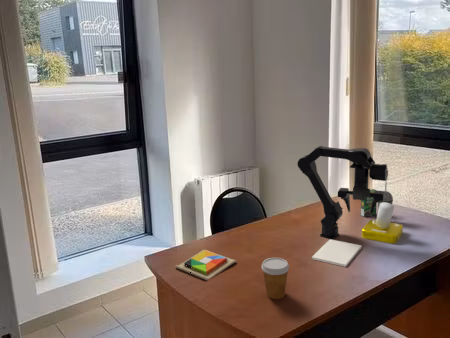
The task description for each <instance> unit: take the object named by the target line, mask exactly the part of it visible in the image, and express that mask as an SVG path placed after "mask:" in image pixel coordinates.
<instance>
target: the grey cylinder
mask: <svg viewBox="0 0 450 338" xmlns="http://www.w3.org/2000/svg"><path fill="white" fill-rule="evenodd" d="M394 210H395V206H394V205H393V203H392V204H390V203H386V202H383V203H380V206H379V210H378V209H377V213H376V215H377V216H376V219H375V220H376V226H378V227H379V228H382V229H387V228H389V226H390V223H392V217H393V214H394Z"/></svg>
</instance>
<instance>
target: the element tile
mask: <svg viewBox="0 0 450 338" xmlns="http://www.w3.org/2000/svg"><path fill="white" fill-rule="evenodd" d="M403 227H404V226H403V224H401V223H396V222H390V226H389V228H387V229H382V228H379V227H378V226H376V219H370V220H369V221H367V223H365V225H364V226H363V227H361V238H362V239H364V240H370V241H375V242H379V243H380V242H381V243H385V244H397V243H398V241H399V239H400V238H401V237H402V235H403V232H404V231H403V230H404V228H403Z"/></svg>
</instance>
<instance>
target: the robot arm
mask: <svg viewBox="0 0 450 338" xmlns="http://www.w3.org/2000/svg"><path fill="white" fill-rule="evenodd" d="M320 157H325V158H332V159H333V158H334V159H341V160H347V161H349V162H351V163H352V164H351V165H350V166H349V168H350V169H354V175H353V176H354V180H353V181H354V183H353V189H352V190H350V188H349V187H340V188H339V189H338V190H337V197H338V198H340V199H341V200H343V201H344V203H345V205H346V207H347V213H350V212H351V201H350V199H351V197H350V196H352V200H354V201H357V200H358V201H361V200H365V197H373V201H372V207H371V214H372V212H373V210H374V207H375V205H376V204H377V205H378V202H380V201H383V200H384V191H385V190H377V189H375V191H374V193H371V192H370V190H371V189H370V188H369V178H370V179H371V180H372V181H380V182H381V181H384V182H387V180H388V177H389V169H388V164H385V163H384V164H381V163H376V161H375V160H374V159H373V157H372V155H371V152H370V151H369V149H368V148H366V147H359V148H358V147H357V148H351V149H350V148H349V149H346V148H337V147H329V146H328V147H327V146H322V145H318V146H317V147H316V148H314V149H313V150H312V151H311V152H310V153H309V154H306V155H304V156H302V157H301V158H299V159H298V161H297V164H296V165H297V167H298V169H299V170H300V172H302V175H303V174H304V175H305V176H306V177H307V179H308V180H309V182H310V183H311V185H312V187H313V189H314V191H315V193H316V194H317V196H318V198H319V200H320V202H321V203H322V207H323V213H324V217H322V218H321V220H320V223H321V233H320V234H319V236H320V237H323V238H327V239H329V240H330V239H331V240H334V239H335V238H336V237H338V236H340V233H339V226H338V225H339V224H338V221H339V220H340V219H341V217H343V214H344V213H343V207H342V206H341V204H340V202H339V201H335V200H333V198H332V196H331V195H330V193H329V191H328V190H327V188H326V186H325V183H324V182H323V181H322V179H321V177H320V174H319V173H318V168H317V164H316V161H317V160H318V159H319V158H320Z"/></svg>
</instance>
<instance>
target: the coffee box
mask: <svg viewBox="0 0 450 338" xmlns="http://www.w3.org/2000/svg"><path fill="white" fill-rule="evenodd" d="M375 190H376V189H375V188H373V189H370V192H371V193H374V191H375ZM372 201H373V197H365V200H360V216H361V217H362V218H367V217H371V216H376V215H377V207H378V203H377V204H376V205H375V207H374V210H373V212H372V214H371V207H372Z"/></svg>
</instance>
